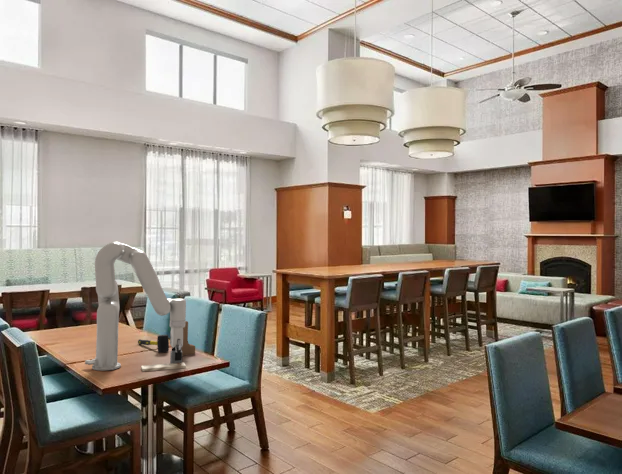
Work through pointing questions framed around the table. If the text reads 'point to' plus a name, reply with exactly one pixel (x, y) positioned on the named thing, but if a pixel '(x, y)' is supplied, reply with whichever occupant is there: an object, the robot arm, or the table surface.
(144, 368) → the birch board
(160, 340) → the mallet
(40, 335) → the table surface
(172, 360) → the block
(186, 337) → the wooden block
